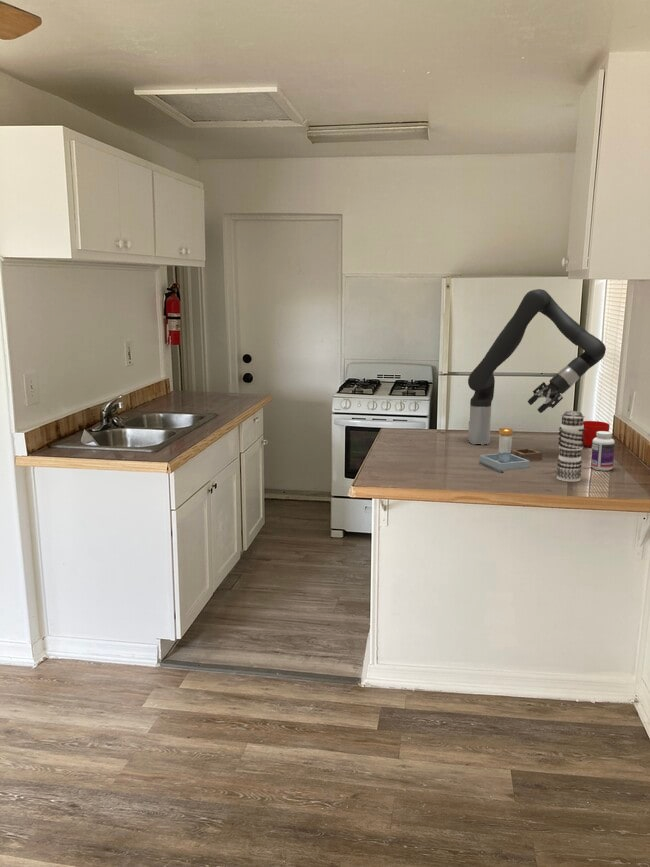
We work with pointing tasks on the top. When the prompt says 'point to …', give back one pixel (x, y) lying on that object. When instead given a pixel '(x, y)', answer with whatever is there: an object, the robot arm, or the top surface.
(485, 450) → the top surface
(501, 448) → the glass jar
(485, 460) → the tray
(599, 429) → the ceramic cup
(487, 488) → the top surface
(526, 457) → the square wooden frame
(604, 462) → the pill bottle
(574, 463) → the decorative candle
